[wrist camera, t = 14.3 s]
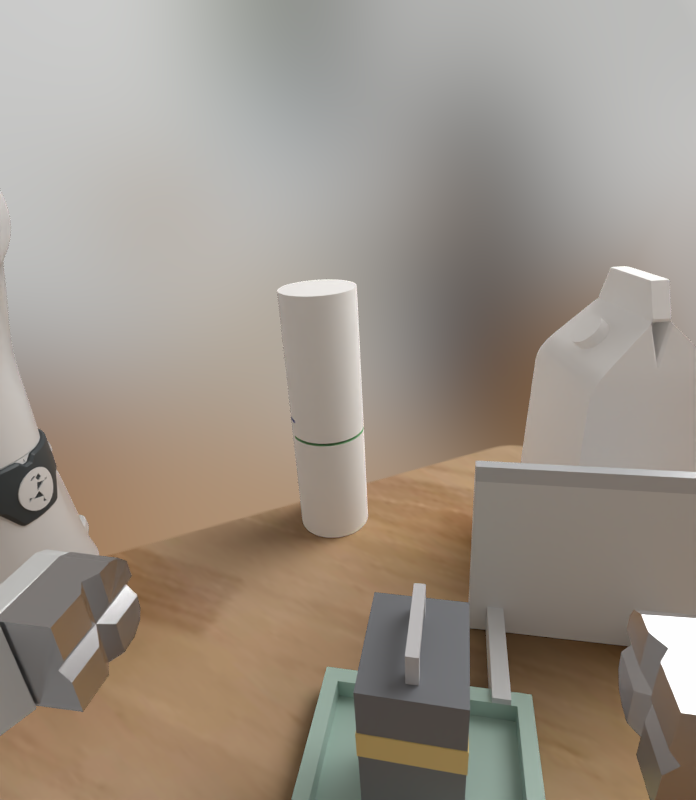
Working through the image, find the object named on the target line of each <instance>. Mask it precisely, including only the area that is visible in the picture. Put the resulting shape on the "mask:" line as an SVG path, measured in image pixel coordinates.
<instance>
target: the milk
mask: <svg viewBox="0 0 696 800" xmlns="http://www.w3.org/2000/svg"><path fill="white" fill-rule="evenodd" d="M521 463H530V464H549V465H569V466H588V467H608V468H627V469H646V470H666V471H685V472H696V346H695V345H694V344H693V343H692V342H691V341H690V340H689V339H688V338H687V337H686V336H685V335H684V334H683V333H682V332H681V331H680V330H679V329H678V328H677V326H676V325H675V324H674V323H673V322H671V299H670V281H669V279H666V278H663V277H660V276H656V275H653V274H650V273H647V272H644V271H640V270H637V269H634V268H631V267H628V266H621V267H610V270H609V272H608V275H607V277H606V280H605V282H604V285H603V287H602V290H601V292H600V294H599V298H598V299H596V300H594V301H593V302H592V303H591V304H590V305H588V306H587V307H586V308H585V309H583V310H582V311H581V312H580V313H578V314H577V315H576V316H575V317H573V318H572V319H571V320H570V321H569V322H567V323H566V324H565V325H564V326H562V327H561V328H560V329H559V330H557V331H556V332H555V333H554V334H553V335H551V336H550V337H549V338H548V339H547V340H546V341H545V342H544V343H543V345H542V346H541V348H540V349H539V351H538V353H537V357H536V361H535V368H534V375H533V381H532V389H531V395H530V402H529V410H528V416H527V423H526V430H525V437H524V444H523V451H522V458H521Z"/></svg>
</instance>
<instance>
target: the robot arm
mask: <svg viewBox="0 0 696 800" xmlns="http://www.w3.org/2000/svg"><path fill="white" fill-rule="evenodd" d="M10 236H11V224H10V216H9V211H8V207H7V205H6V201H5V199H4V197H3V194H2V192H1V190H0V736H1V735H2V734H3V733H5V732H6V731H7V730H9V729H10V728H11V727H13V726H14V725H15V724H17V723H18V722H19V721H21V720H22V719H23V718H25V717H26V716H27V715H29V714H30V713H31V712H33V711H34V710H35V709H36V706H44V707H51V708H59V709H66V710H74V711H81V712H83V711H84V710H85V709H86V707H87V706H88V704H89V703H90V701H91V700H92V698H93V697H94V696H95V694H96V693H97V691H98V690H99V688H100V687H101V686H102V684H103V683H104V681H105V680H106V678H107V677H108V675H109V662H110V661H111V660H113V659H115V658H116V657H118V656H119V655H121V654H122V653H124V652H125V651H126V649H127V648H128V646H129V645H130V643H131V642H132V640H133V639H134V637H135V634H136V631H137V628H138V625H139V622H140V604H139V600H138V596H137V595H136V594H135V593H134V592H133V591H132V590H131V589H130V588H129V587H128V586H127V583H128V582H129V580H130V578H131V576H132V575H131V573H130V570H129V567H128V564H127V561H125V560H122V559H120V558H114V557H107V556H99V552H98V549H97V547H96V545H95V544H94V542H93V541H92V539H91V538H90V536H89V535H88V530H89V525H88V523H87V521H86V518H85V517H84V516H83V515H78V513H77V510H76V508H75V506H74V504H73V502H72V500H71V498H70V495H69V494H68V491H67V489H66V487H65V485H64V483H63V481H62V479H61V477H60V475H59V473H58V471H57V470H56V463H55V460H54V457H53V454H52V448H51V445H50V444H49V442H48V441H47V438H46V436H45V434H44V432H43V431H41V430H40V429H38V428H37V425H36V422H35V419H34V416H33V413H32V410H31V406H30V403H29V400H28V397H27V394H26V391H25V388H24V385H23V382H22V379H21V376H20V373H19V370H18V367H17V363H16V360H15V356H14V351H13V346H12V340H11V333H10V324H9V314H8V303H7V293H6V283H5V275H4V266H3V264H4V263H3V261H4V257H5V255H6V252H7V250H8V246H9V242H10ZM626 630H627V633H628V636H629V638H630V641H631V644H632V645H630V646H629V647H627V648H626V649H625V650H623V651H622V652H621V657H620V663H619V692H620V697H621V703H622V707H623V711H624V714H625V718H626V721H627V723H628V724H629V725H630V726H631V727H632V729H633V730H634V731H635V732H636V733H637V734H638V735H639V736H640V737H641V738H640V743H639V747H638V751H637V759H638V762H639V765H640V769H641V772H642V775H643V778H644V782H645V785H646V788H647V792H648V795H649V798H650V800H696V615H690V614H679V613H668V612H657V611H646V610H635V609H634V610H633V611H632V613H631V614H630V616H629V620H628V624H627V628H626Z"/></svg>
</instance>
